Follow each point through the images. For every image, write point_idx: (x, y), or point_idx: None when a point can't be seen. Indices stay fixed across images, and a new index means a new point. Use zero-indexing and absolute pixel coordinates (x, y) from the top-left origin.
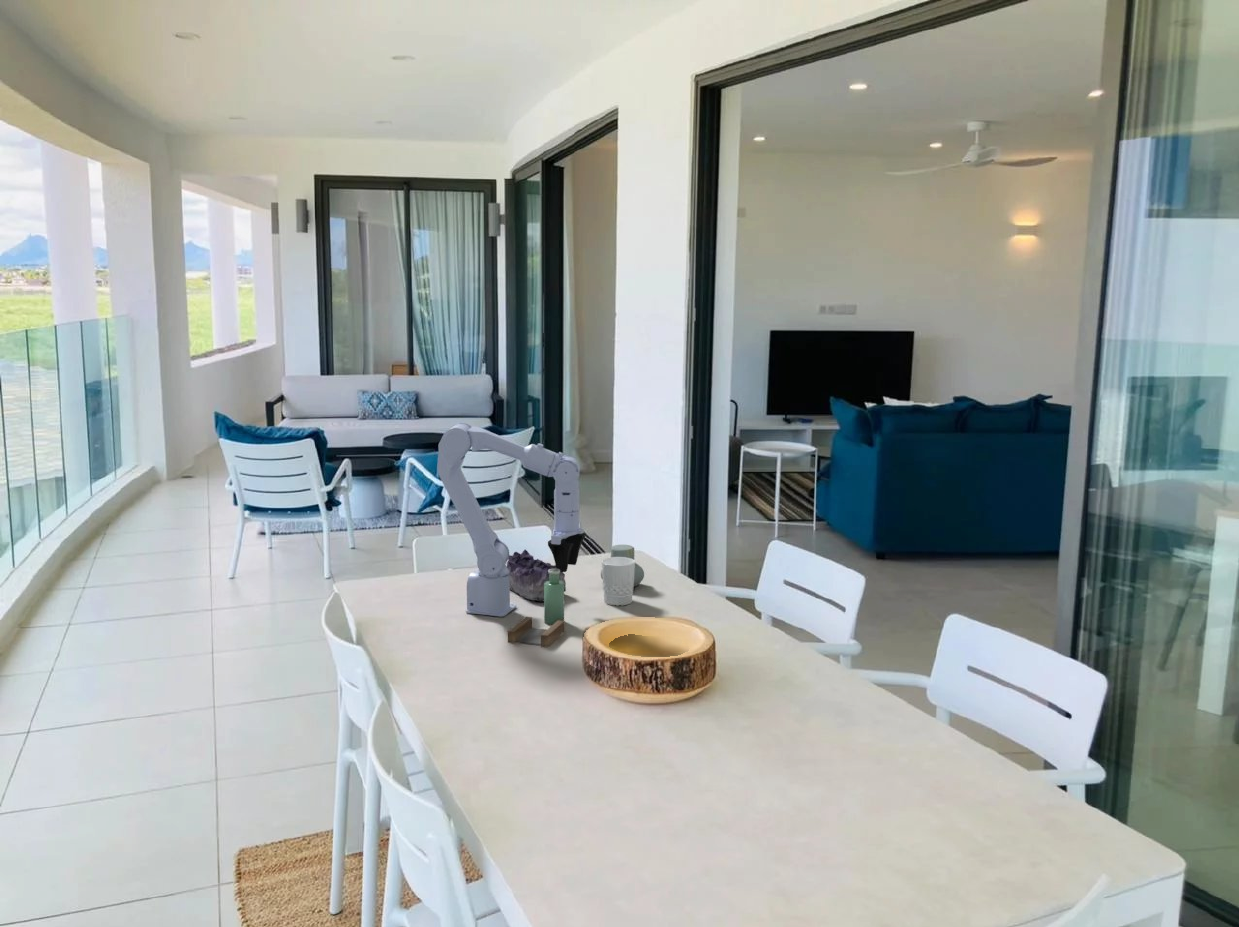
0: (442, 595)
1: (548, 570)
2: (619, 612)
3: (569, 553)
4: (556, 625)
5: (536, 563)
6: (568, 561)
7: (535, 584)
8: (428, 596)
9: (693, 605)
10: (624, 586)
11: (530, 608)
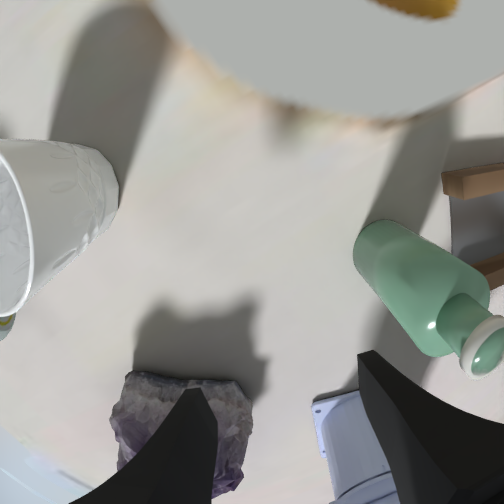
0: (306, 497)
1: (497, 367)
2: (169, 115)
3: (420, 427)
4: (496, 178)
5: None
6: (213, 428)
7: (237, 433)
8: (322, 501)
9: (20, 13)
10: (61, 148)
11: (300, 375)
